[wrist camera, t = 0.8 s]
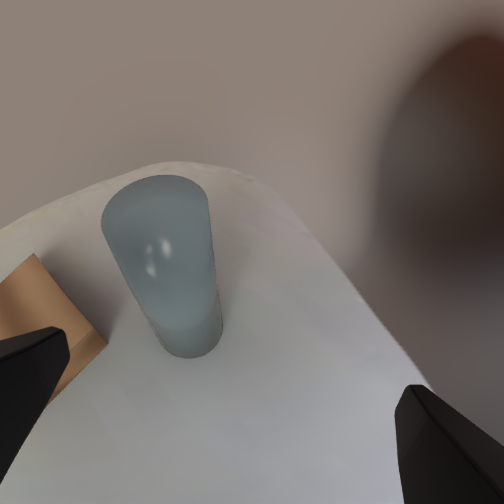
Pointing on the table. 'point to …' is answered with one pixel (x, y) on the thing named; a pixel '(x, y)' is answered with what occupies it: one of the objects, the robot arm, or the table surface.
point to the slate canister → (168, 260)
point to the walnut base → (46, 315)
